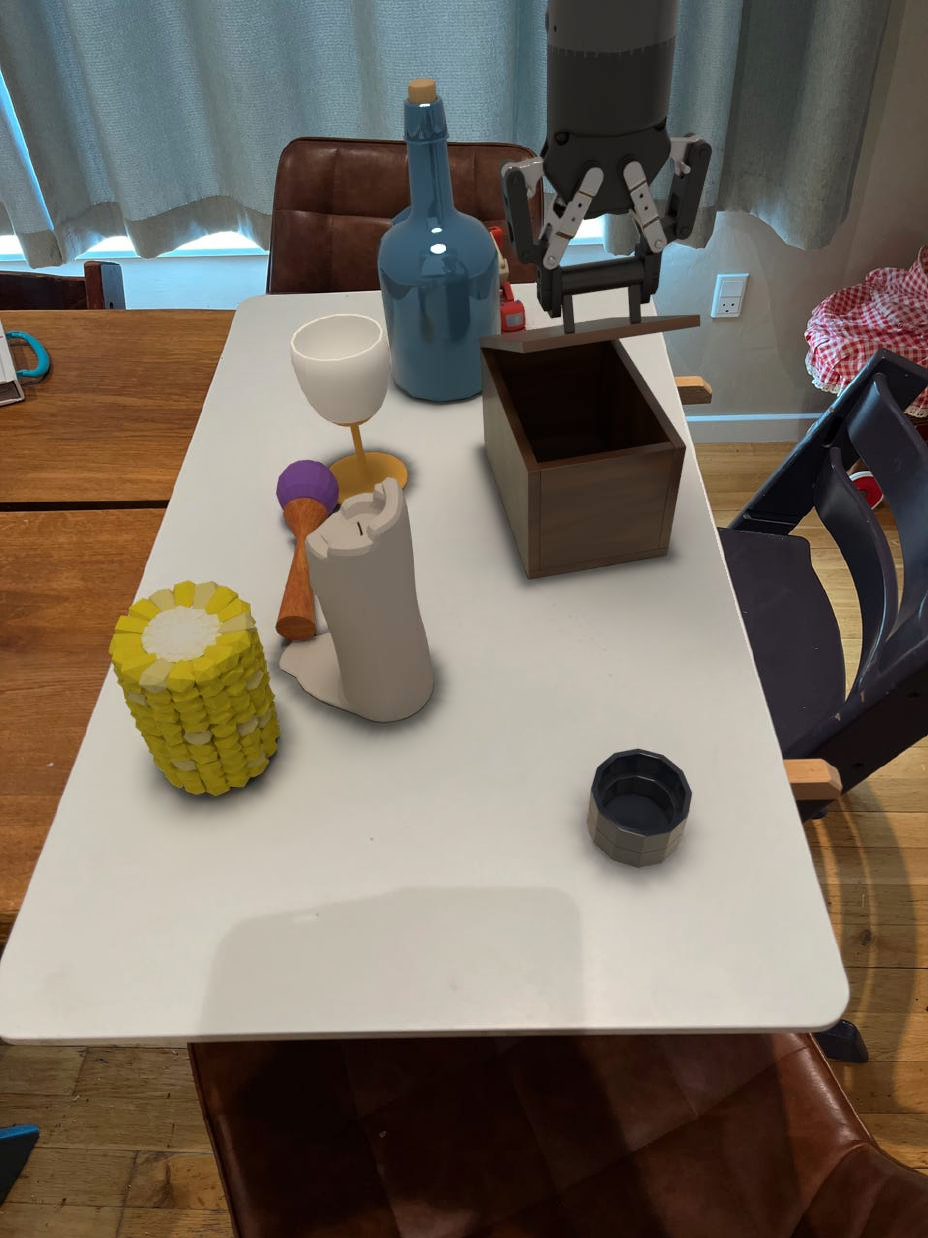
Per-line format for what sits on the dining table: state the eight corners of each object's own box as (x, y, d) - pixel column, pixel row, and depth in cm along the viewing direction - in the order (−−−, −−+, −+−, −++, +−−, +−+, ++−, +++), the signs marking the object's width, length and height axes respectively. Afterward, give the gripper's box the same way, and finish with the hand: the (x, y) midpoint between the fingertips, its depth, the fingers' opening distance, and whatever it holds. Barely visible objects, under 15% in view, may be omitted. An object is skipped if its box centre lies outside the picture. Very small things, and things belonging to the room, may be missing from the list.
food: (169, 728, 64) (293, 708, 65) (148, 841, 54) (294, 814, 56) (109, 568, 55) (254, 548, 56) (73, 669, 46) (248, 642, 47)
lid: (700, 326, 56) (698, 245, 54) (523, 353, 55) (515, 271, 53) (611, 326, 76) (608, 266, 74) (479, 346, 75) (472, 286, 73)
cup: (425, 470, 82) (408, 326, 70) (369, 519, 77) (340, 373, 65) (360, 444, 86) (333, 302, 74) (303, 489, 81) (264, 346, 69)
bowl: (661, 779, 56) (670, 741, 53) (693, 860, 52) (706, 825, 48) (577, 796, 56) (581, 759, 52) (603, 878, 52) (609, 844, 48)
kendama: (246, 614, 64) (268, 455, 76) (277, 655, 68) (294, 499, 81) (315, 598, 63) (326, 440, 75) (342, 641, 67) (348, 485, 80)
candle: (307, 619, 69) (245, 426, 54) (448, 666, 64) (424, 470, 49) (260, 679, 65) (179, 489, 50) (407, 734, 60) (367, 542, 45)
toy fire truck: (503, 347, 97) (501, 270, 90) (475, 298, 106) (471, 224, 99) (528, 342, 98) (528, 265, 91) (498, 294, 107) (496, 220, 100)
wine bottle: (521, 387, 91) (517, 85, 69) (414, 417, 88) (375, 114, 66) (474, 335, 100) (458, 52, 78) (376, 361, 97) (330, 76, 75)
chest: (667, 555, 71) (686, 446, 62) (528, 579, 70) (528, 472, 62) (602, 430, 85) (611, 326, 76) (484, 449, 84) (479, 346, 75)
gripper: (505, 59, 43) (513, 346, 55) (756, 25, 44) (709, 314, 56) (478, 31, 48) (491, 299, 60) (704, 1, 49) (671, 271, 61)
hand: (597, 305), depth 58 cm, fingers closed on lid, 6 cm apart
